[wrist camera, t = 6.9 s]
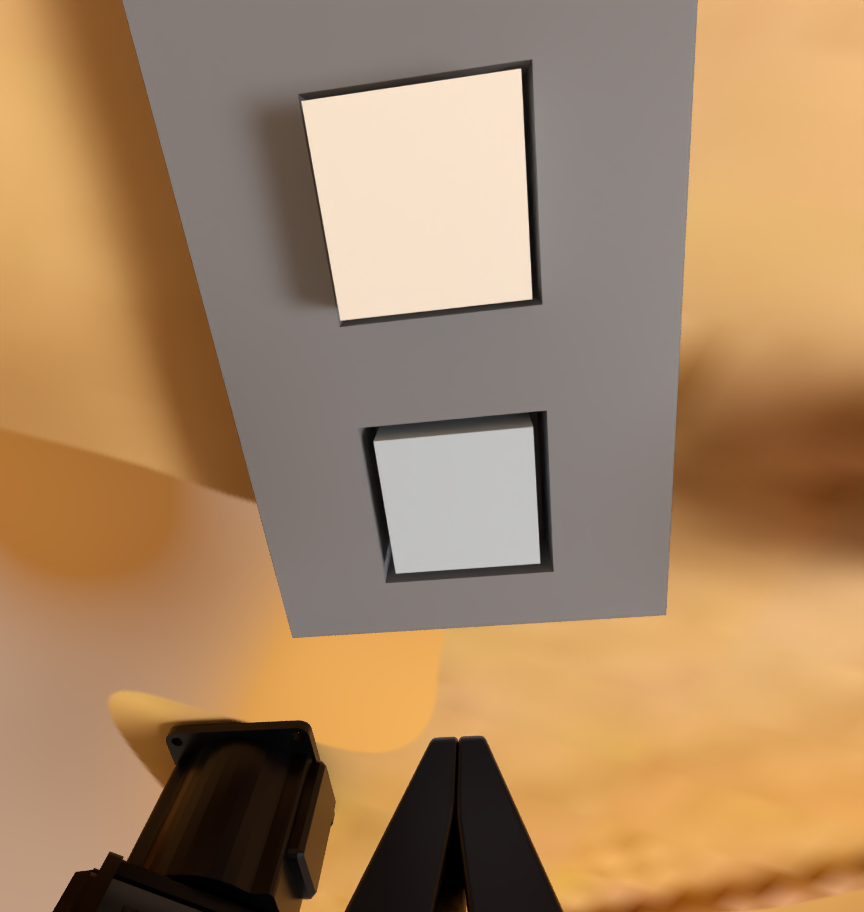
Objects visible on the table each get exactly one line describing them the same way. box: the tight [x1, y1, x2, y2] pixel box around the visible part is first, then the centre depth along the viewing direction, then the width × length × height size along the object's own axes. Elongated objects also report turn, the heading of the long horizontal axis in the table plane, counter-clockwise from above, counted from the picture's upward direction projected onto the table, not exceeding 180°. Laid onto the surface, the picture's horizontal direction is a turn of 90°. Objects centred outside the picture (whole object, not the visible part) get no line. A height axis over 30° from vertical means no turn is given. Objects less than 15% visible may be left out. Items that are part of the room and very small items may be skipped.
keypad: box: [122, 0, 698, 638], centre depth 15 cm, size 12×25×4 cm, turn 7°
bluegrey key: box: [373, 412, 540, 574], centre depth 18 cm, size 4×4×2 cm
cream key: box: [301, 69, 532, 321], centre depth 13 cm, size 4×4×2 cm
